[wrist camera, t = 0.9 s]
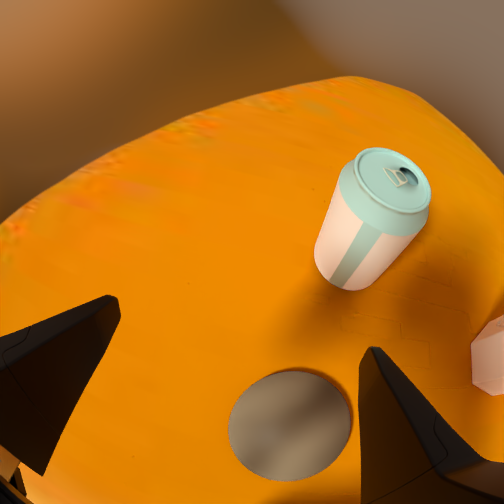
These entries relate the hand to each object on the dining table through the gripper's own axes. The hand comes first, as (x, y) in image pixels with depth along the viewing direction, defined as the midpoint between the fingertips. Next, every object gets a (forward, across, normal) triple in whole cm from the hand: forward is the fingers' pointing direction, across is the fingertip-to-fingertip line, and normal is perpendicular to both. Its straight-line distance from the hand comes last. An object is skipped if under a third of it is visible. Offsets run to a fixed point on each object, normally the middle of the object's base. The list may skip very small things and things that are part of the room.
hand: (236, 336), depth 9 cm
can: (+18, -8, +5) cm, 20 cm away
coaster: (+5, -5, +14) cm, 16 cm away
